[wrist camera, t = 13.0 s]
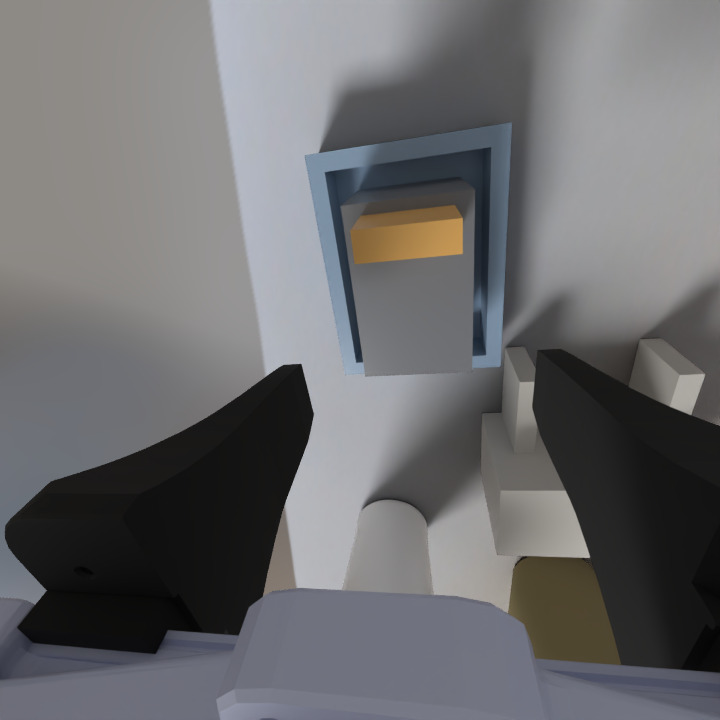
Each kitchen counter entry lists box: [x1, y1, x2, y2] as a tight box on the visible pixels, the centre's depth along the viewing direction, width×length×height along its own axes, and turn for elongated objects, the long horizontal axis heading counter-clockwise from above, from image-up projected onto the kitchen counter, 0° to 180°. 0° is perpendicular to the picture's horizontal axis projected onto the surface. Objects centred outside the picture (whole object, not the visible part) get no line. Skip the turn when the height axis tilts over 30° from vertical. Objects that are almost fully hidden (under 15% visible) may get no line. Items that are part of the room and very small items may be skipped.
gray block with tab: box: [341, 177, 475, 377], centre depth 16 cm, size 7×4×8 cm, turn 8°
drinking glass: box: [342, 500, 434, 595], centre depth 23 cm, size 7×7×15 cm
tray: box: [305, 122, 512, 375], centre depth 18 cm, size 8×10×2 cm
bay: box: [481, 338, 705, 558], centre depth 20 cm, size 10×10×6 cm
